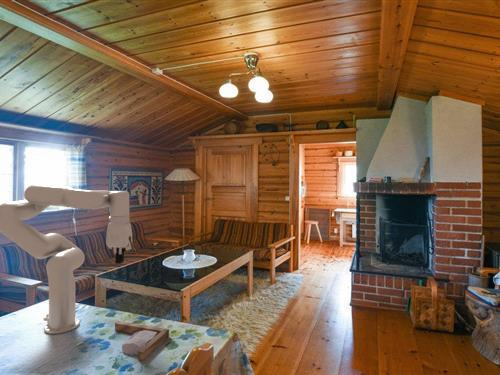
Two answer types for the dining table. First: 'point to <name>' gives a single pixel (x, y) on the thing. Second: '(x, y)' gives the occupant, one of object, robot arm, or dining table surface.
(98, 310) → the dining table surface
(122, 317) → the dining table surface
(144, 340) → the stone block
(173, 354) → the dining table surface
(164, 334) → the wooden corner frame
